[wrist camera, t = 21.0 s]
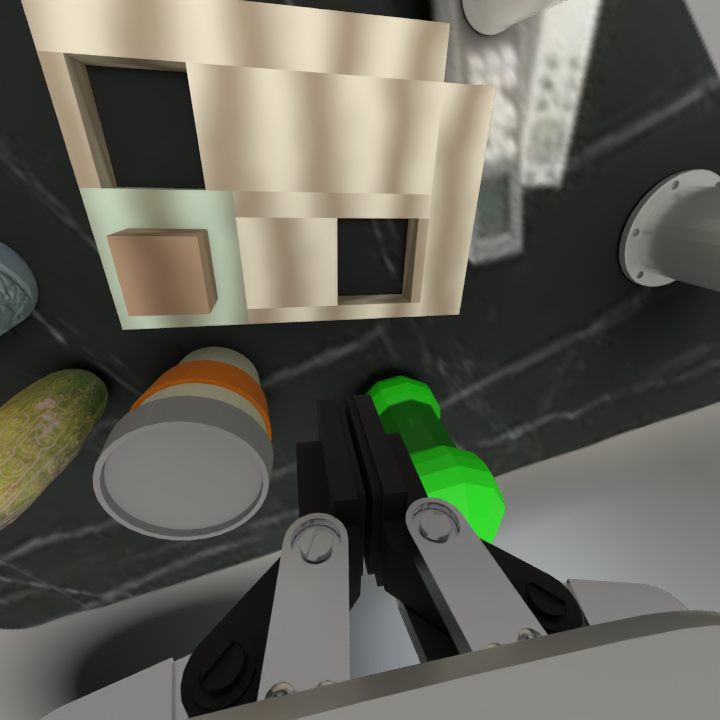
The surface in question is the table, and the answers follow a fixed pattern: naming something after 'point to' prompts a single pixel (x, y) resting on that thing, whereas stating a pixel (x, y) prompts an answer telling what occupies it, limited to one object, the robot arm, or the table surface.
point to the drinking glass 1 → (15, 289)
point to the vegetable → (45, 434)
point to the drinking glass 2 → (502, 13)
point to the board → (281, 147)
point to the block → (164, 271)
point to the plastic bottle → (439, 453)
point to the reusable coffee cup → (190, 451)
